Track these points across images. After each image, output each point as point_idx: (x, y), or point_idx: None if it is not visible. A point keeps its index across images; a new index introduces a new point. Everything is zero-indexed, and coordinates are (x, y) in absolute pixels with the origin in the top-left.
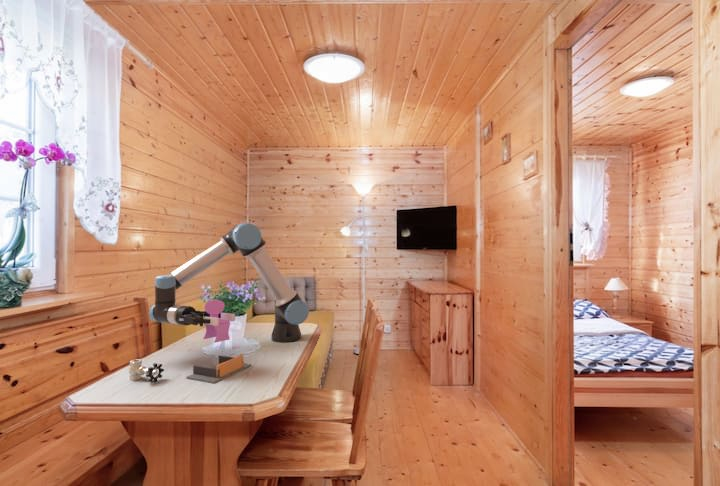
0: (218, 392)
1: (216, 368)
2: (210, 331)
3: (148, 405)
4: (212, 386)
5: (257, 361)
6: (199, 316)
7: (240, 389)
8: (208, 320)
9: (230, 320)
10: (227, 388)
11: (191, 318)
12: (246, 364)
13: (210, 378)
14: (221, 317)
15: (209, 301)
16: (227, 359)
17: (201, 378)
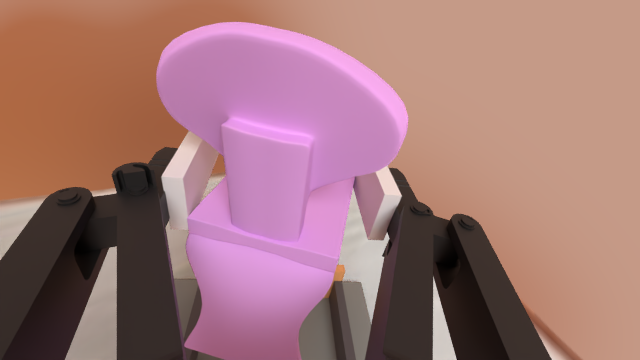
0: (386, 241)
1: (342, 278)
2: (265, 323)
3: (546, 332)
4: (374, 275)
5: (111, 292)
6: (407, 252)
7: (347, 214)
8: (393, 172)
9: (214, 163)
10: (360, 237)
11: (500, 270)
12: (179, 292)
13: (349, 311)
14: (189, 207)
15: (343, 57)
16: (191, 357)
17: (367, 341)
